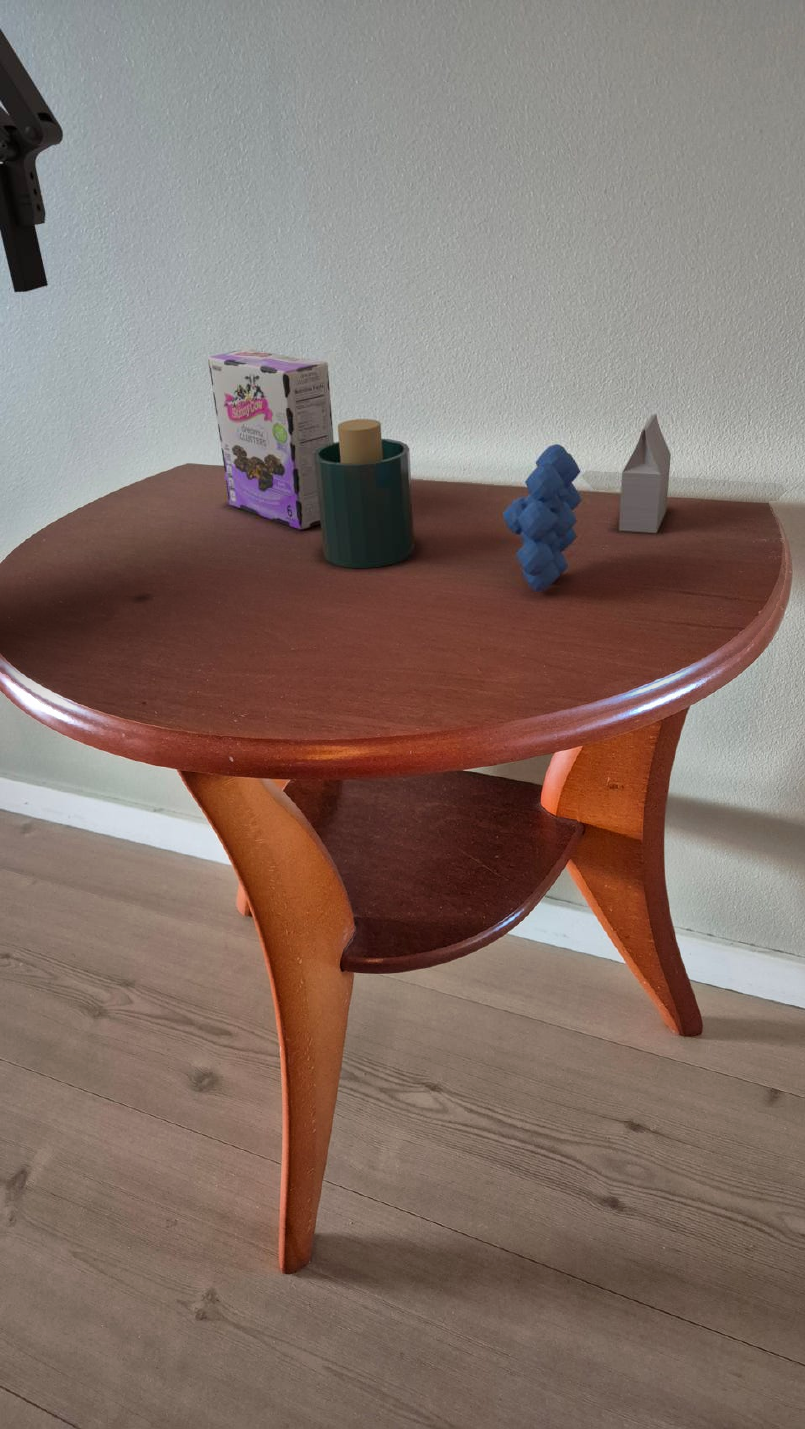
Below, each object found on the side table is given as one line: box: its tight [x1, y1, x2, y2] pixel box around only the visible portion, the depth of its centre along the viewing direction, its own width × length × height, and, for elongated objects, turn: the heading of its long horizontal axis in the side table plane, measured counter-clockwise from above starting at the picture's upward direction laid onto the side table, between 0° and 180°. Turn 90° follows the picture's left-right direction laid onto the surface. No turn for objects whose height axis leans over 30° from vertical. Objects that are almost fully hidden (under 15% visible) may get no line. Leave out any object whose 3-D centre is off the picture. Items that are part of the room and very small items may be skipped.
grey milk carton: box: [618, 413, 672, 534], centre depth 99 cm, size 4×7×10 cm, turn 159°
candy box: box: [207, 348, 335, 531], centre depth 106 cm, size 14×6×16 cm, turn 43°
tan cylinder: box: [337, 418, 383, 463], centre depth 95 cm, size 4×4×12 cm
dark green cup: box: [313, 438, 415, 569], centre depth 96 cm, size 9×9×10 cm
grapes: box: [502, 443, 582, 593], centre depth 86 cm, size 12×7×12 cm, turn 157°
